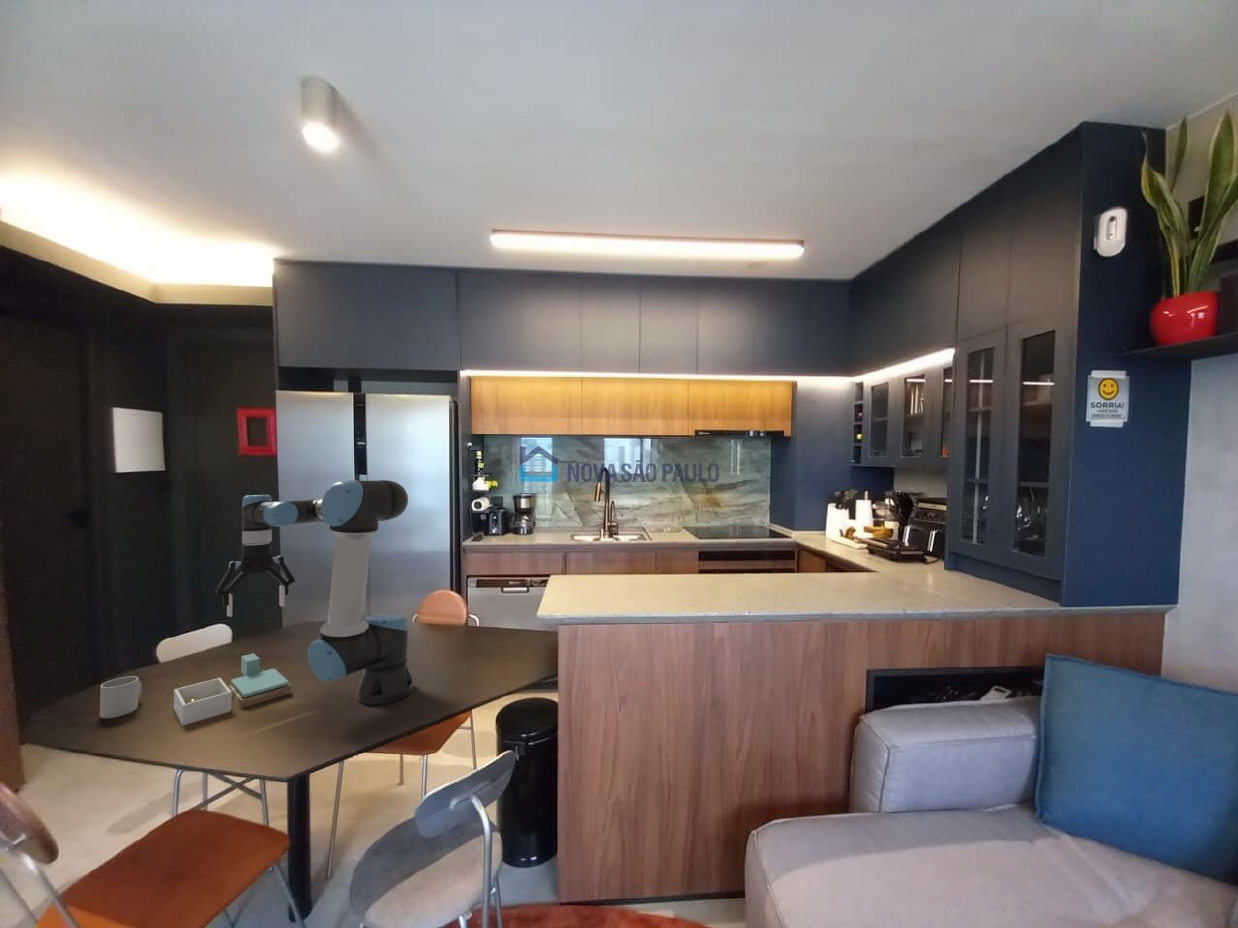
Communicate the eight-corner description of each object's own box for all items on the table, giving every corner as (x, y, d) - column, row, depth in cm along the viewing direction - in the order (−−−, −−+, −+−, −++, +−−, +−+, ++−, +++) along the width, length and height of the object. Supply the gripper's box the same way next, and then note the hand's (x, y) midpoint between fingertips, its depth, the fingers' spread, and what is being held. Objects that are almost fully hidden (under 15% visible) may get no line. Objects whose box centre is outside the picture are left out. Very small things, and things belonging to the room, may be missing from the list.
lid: (288, 686, 141) (289, 667, 141) (243, 699, 133) (243, 679, 133) (268, 667, 155) (268, 649, 155) (225, 678, 147) (226, 659, 147)
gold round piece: (200, 707, 133) (200, 699, 133) (187, 711, 131) (187, 702, 131) (198, 704, 134) (198, 696, 135) (185, 708, 132) (185, 699, 132)
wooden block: (290, 695, 142) (290, 685, 142) (240, 710, 133) (240, 699, 133) (276, 681, 151) (276, 672, 151) (228, 695, 142) (228, 685, 142)
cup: (91, 722, 127) (92, 688, 127) (125, 703, 136) (126, 672, 137) (121, 720, 127) (122, 686, 128) (153, 702, 137) (154, 671, 137)
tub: (231, 713, 131) (231, 691, 131) (182, 728, 123) (182, 705, 123) (219, 697, 140) (220, 677, 140) (173, 711, 132) (174, 689, 132)
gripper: (298, 538, 163) (298, 600, 163) (203, 547, 144) (202, 617, 143) (306, 539, 158) (305, 603, 158) (208, 549, 139) (208, 622, 139)
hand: (256, 610), depth 151 cm, fingers open, 13 cm apart
